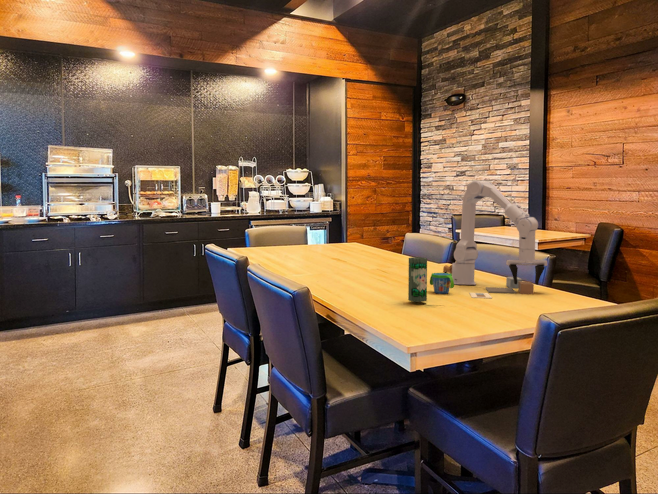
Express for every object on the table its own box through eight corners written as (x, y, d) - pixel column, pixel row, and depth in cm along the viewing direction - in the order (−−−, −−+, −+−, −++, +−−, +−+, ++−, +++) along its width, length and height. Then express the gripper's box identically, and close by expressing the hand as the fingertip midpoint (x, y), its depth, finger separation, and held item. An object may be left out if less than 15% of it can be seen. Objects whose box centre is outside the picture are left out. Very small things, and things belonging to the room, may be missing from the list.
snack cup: (424, 291, 194) (424, 272, 193) (439, 290, 197) (440, 271, 197) (442, 296, 184) (443, 276, 183) (459, 294, 187) (459, 274, 186)
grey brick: (510, 288, 200) (510, 279, 200) (506, 286, 207) (506, 276, 207) (521, 289, 200) (522, 279, 200) (517, 286, 207) (517, 276, 207)
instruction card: (472, 297, 180) (472, 296, 180) (469, 293, 189) (469, 292, 189) (492, 298, 178) (492, 297, 178) (488, 293, 188) (488, 292, 188)
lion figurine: (462, 278, 230) (462, 262, 229) (455, 279, 228) (455, 263, 227) (443, 275, 240) (443, 260, 239) (436, 276, 238) (436, 261, 237)
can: (415, 302, 171) (415, 259, 170) (405, 299, 177) (405, 257, 176) (429, 300, 174) (430, 258, 173) (419, 298, 179) (420, 257, 178)
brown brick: (520, 294, 188) (521, 283, 187) (518, 291, 194) (518, 281, 194) (533, 294, 187) (533, 284, 186) (530, 291, 193) (530, 281, 193)
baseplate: (488, 292, 190) (489, 291, 190) (485, 288, 200) (485, 287, 200) (516, 293, 188) (516, 291, 188) (511, 289, 198) (511, 287, 198)
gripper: (508, 249, 187) (508, 285, 188) (549, 249, 184) (548, 286, 185) (505, 248, 194) (505, 282, 195) (545, 248, 191) (544, 283, 192)
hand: (526, 284), depth 190 cm, fingers open, 7 cm apart
